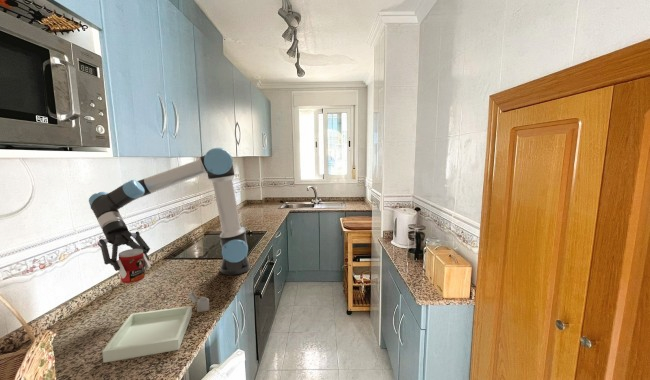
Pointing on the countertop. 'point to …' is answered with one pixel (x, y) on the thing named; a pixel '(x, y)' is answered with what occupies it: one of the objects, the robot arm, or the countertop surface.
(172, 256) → the countertop surface
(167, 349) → the tray
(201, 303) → the lighter
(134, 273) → the canned food
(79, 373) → the countertop surface
